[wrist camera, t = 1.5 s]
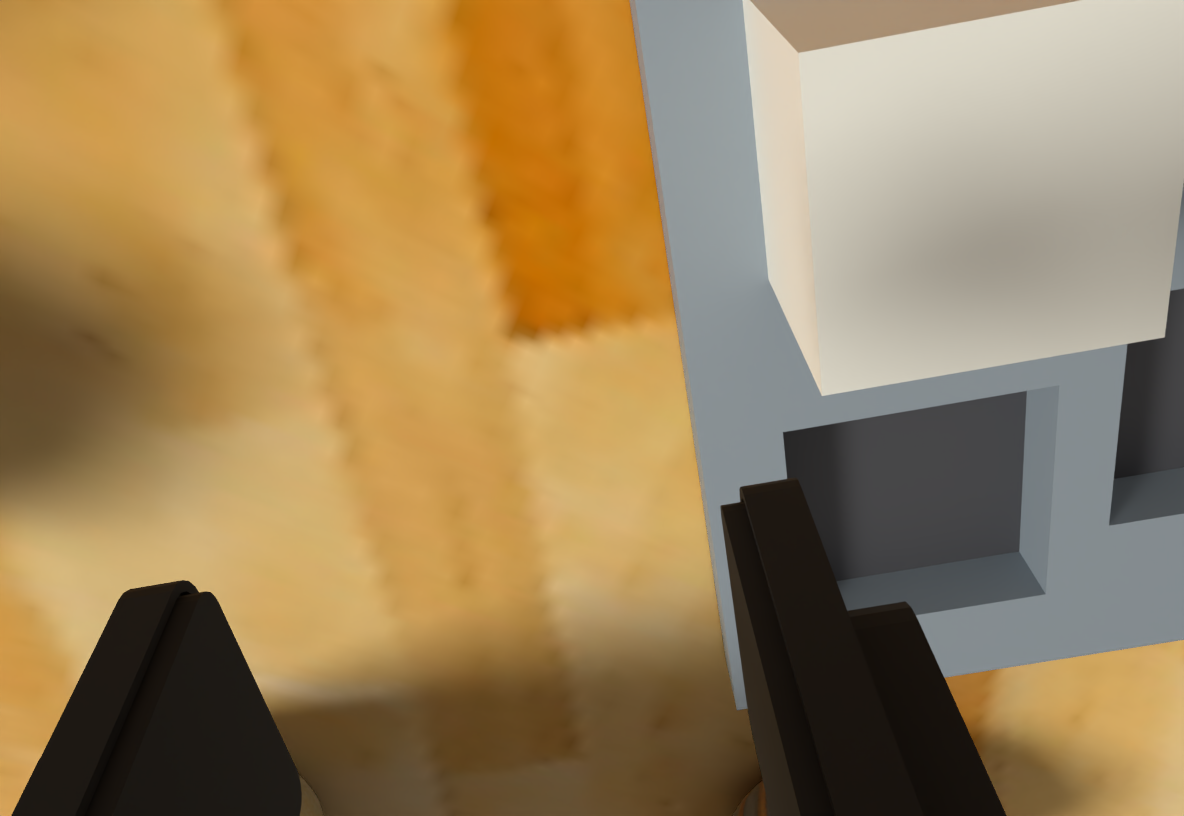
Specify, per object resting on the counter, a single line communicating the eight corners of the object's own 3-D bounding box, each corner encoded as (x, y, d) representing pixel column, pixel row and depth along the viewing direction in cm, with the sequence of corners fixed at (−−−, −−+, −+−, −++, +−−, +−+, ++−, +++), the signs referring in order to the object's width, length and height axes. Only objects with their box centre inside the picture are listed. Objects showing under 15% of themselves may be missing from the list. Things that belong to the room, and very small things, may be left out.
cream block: (741, -9, 20) (798, 52, 16) (1062, -70, 20) (1208, -24, 16) (768, 279, 23) (822, 396, 19) (1046, 230, 23) (1164, 337, 19)
